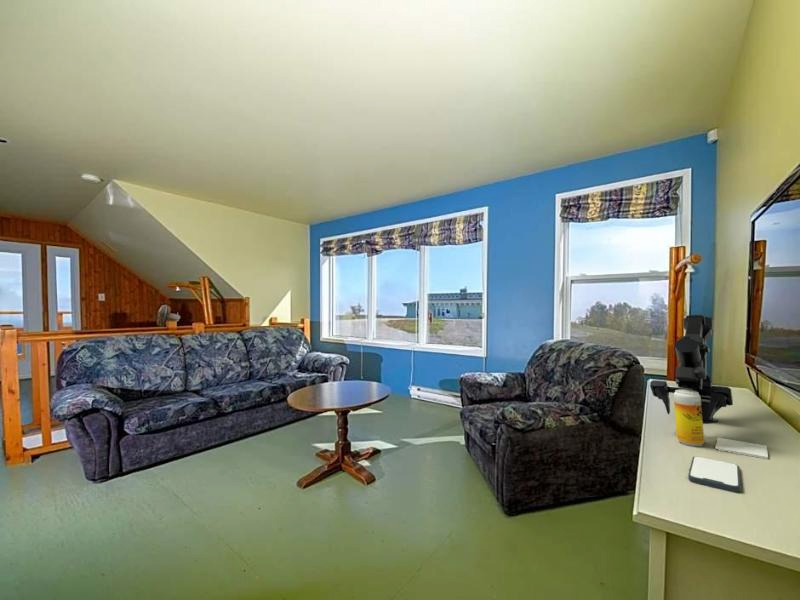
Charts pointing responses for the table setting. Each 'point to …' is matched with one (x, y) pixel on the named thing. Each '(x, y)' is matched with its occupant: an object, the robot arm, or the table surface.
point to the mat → (742, 448)
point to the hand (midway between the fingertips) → (687, 416)
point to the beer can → (689, 417)
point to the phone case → (715, 474)
